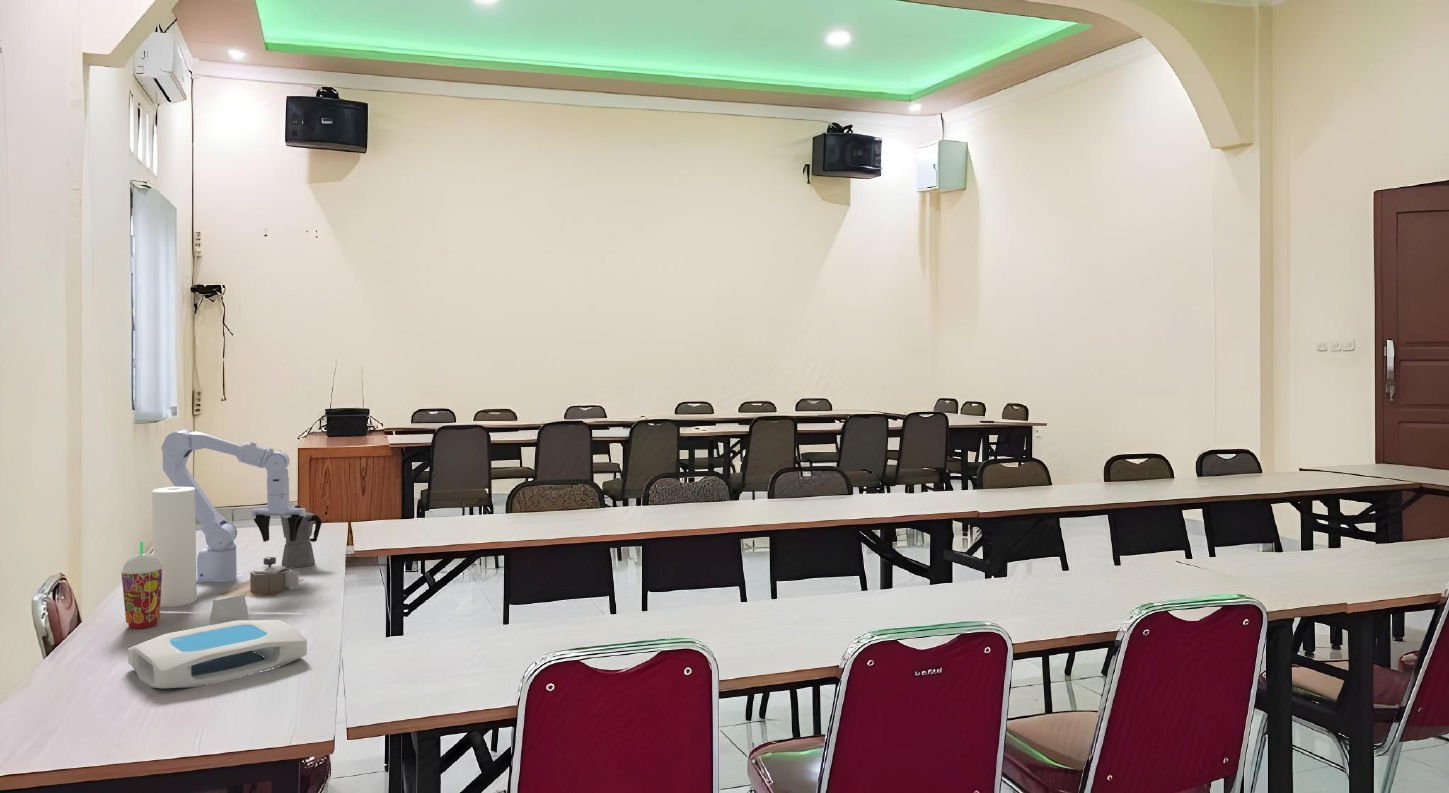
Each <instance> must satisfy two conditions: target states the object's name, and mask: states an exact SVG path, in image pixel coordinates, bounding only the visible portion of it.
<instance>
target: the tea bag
mask: <svg viewBox="0 0 1449 793" xmlns="http://www.w3.org/2000/svg"><path fill="white" fill-rule="evenodd" d="M249 617H250V616H249V609H248V605H247V600H246V596H245V595H244V594H243V595H238V596H227V597H223V598H218V599H213V600H212V607H211V612H210V616H209V625H215V624H220V623H225V622H231V621H237V620H250V619H249Z"/></svg>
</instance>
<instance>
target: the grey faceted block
mask: <svg viewBox="0 0 1449 793" xmlns="http://www.w3.org/2000/svg"><path fill="white" fill-rule="evenodd" d="M249 574H250V575H249V576H250V578H249V580H250V589H251V591H252V592H254V593H268V594H269V593H275V592H281V591H283V592H285V591H287V590H288V588H289V587H290V588H299V586H300V582H299V579H300V578H299V576H300V574H299V571H296V570H295V571H290V569H289V568H288V567H285V566H282V565H281V566H279V565H278V566H277V565H276V566H275V565H273V566H272V565H271V570H268V565H263V566H261V567H259V568H257V569H255V570H252V571H250V572H249ZM290 588H289V589H290ZM286 589H287V590H286ZM284 590H285V591H284Z"/></svg>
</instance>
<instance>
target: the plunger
mask: <svg viewBox="0 0 1449 793" xmlns="http://www.w3.org/2000/svg"><path fill="white" fill-rule="evenodd" d="M275 564H277V558H276V556H275V557H274V556H268V557H264V558H263V566H268V570H271V566H272V565H275Z"/></svg>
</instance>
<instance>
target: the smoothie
mask: <svg viewBox="0 0 1449 793" xmlns="http://www.w3.org/2000/svg"><path fill="white" fill-rule="evenodd" d="M162 567H163V566H162V565H161V564H160V562H159V560H158V559H157V558H156V557H155V556H154V554H151V553H148V552H144V542H143V541H139V553H136V554H134V555H132V556H130V557H129V558H128V559H127V560H126V561H125V563H124V564H123V568H121V569H120V572H121V583H122V584H121V586H122V593H123V594H122V595H123V604H124V614H125V615H124V616H125V623H126V624H127V625H128V627H129V628H130V629H134V630H135V629H136V630H140V629H147V628H148V627H149V628H153V627H155V626H156V625H157V624H158V620H160V619H161V618H160V617H161V606H160V601H161V582H162Z"/></svg>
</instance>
